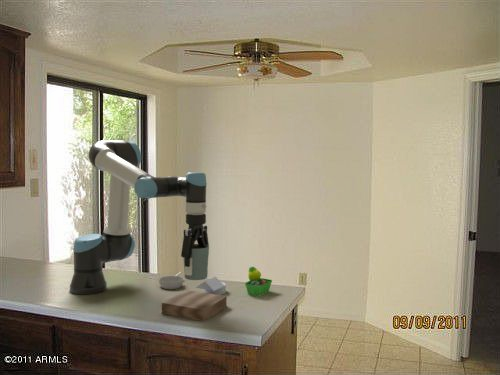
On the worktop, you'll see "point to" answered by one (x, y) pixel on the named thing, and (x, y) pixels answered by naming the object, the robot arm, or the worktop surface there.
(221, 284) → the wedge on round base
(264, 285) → the fruit basket
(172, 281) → the small pan
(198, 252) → the grey cup
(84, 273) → the robot arm
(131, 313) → the worktop surface
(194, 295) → the walnut stand
